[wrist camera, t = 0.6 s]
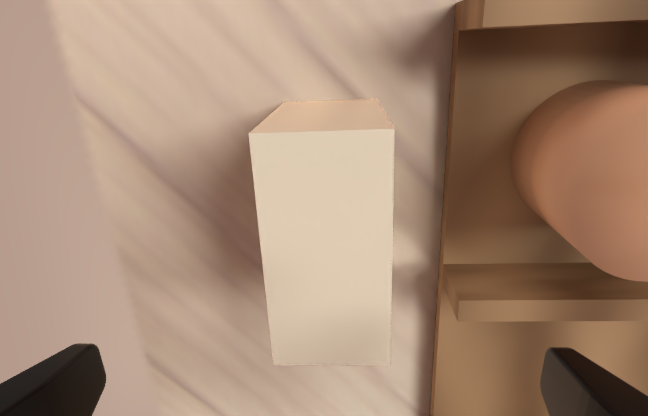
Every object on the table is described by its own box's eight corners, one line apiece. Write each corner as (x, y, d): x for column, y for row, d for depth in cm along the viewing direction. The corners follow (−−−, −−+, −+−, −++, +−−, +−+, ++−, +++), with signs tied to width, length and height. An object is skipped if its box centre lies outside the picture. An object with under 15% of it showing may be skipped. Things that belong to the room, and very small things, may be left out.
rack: (756, -12, 16) (876, -29, 12) (624, 442, 24) (673, 511, 20) (455, 3, 16) (485, -9, 13) (428, 439, 25) (441, 506, 21)
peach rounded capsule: (680, 76, 16) (816, 89, 11) (644, 220, 18) (746, 280, 14) (519, 82, 16) (587, 97, 12) (502, 223, 19) (555, 282, 14)
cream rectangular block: (377, 98, 18) (394, 129, 11) (376, 264, 21) (390, 365, 14) (284, 101, 18) (248, 133, 12) (296, 266, 21) (273, 365, 14)
